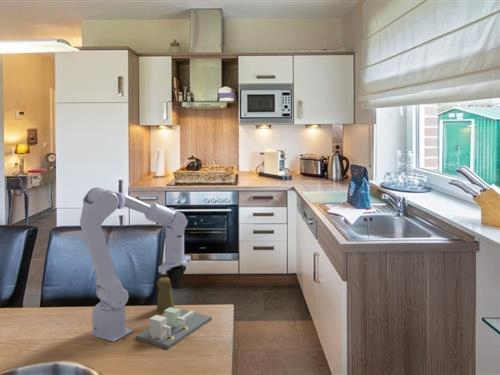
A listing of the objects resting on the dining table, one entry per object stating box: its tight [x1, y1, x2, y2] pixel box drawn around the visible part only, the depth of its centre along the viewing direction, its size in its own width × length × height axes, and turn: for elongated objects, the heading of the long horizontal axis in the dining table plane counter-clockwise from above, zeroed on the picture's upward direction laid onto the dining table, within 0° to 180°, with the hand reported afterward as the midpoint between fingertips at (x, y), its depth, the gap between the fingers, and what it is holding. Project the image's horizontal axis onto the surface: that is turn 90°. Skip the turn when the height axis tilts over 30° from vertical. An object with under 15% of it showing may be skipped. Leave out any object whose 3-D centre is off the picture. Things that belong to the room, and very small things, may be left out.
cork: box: [156, 277, 175, 314], centre depth 154 cm, size 6×6×11 cm
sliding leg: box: [163, 307, 185, 328], centre depth 139 cm, size 6×3×5 cm, turn 62°
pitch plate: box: [135, 308, 212, 350], centre depth 140 cm, size 12×22×6 cm, turn 152°
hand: (175, 288), depth 149 cm, fingers closed
